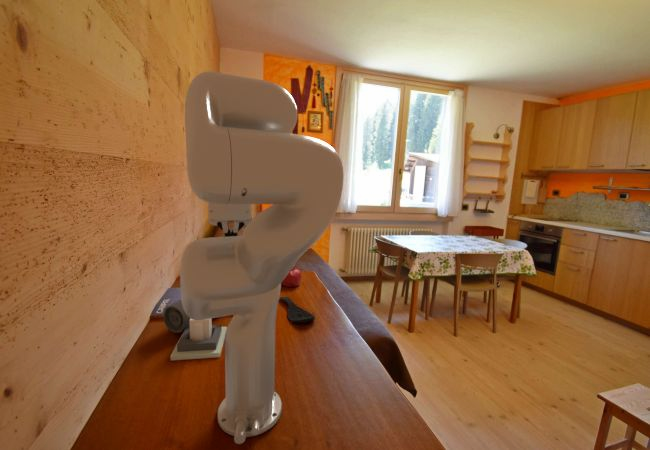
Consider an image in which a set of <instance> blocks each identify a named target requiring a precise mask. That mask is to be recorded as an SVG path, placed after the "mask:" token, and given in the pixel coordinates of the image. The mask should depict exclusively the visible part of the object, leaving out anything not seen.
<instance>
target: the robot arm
mask: <svg viewBox="0 0 650 450" xmlns="http://www.w3.org/2000/svg"><path fill="white" fill-rule="evenodd" d="M297 122H298V105H297V104H296V102H295V99H294V97H293V96H292V95H291V93H290V92H289V91H288V90H286V89H285V88H284V87H283V86H281V85H279V84H277V83H275V82H272V81H269V80H264V79H258V78H252V77H247V76H242V75H241V76H239V75H234V74H229V73H222V72H218V71H203V72H200V73H198V74H197V75H196V76H194V77H193V79H192V80H191V82H190V84H189V86H188V89H187V91H186V95H185V101H184V125H185V127H184V128H185V130H184V131H185V151H186V153H185V154H186V173H187V177H188V183H189V185H190V187H191V189H192V192H193V193H194V194H195V196H196V197H197V198H198V199H200V200H202V201H203V202H206V203H207V204H208V206H207V207H208V208H207V211H208V212H207V214H208V221H207V223H208V224H209V225H211V226H216V227H218V228H219V229H220V231H222V232H223V233H224V236H216V237H215V236H214V237H213V236H212V237H203V238H198V239H195V240H193V241H191V242H189V244H187V245H186V247H184V248H185V249H184V250H183V253H182V256H181V261H180V270H179V274H180V275H179V277H180V280H179V281H180V286H179V287H180V300H181V302H182V306H183V309H184V311H185V313H186V314H187V316H188V317H189V318H191V319H194V320H204V319H211V318H212V319H215V318H222V317H228V316H233V317H232V318H231V320H230V321H229V323H228V325H227V326H226V327H227V330H226V333H225V340H224V367H225V368H224V370H225V371H224V372H225V380H224V381H225V398H223V400H222V401H221V403H220V404H219V406H218V408H217V409H218V410H217V423H218V425H219V427H220V429H221V430H223V432H224V433H227V434H228V435H229V436H232V437H233V441H234V443H235V444H237V445H241V444H243V443H244V442H245V441H246V439H247V438H249V437H256V436H258V435H261V434H263V433H265V432H267V431H268V430H270V429H271V428H272V427H274V426H275V424H277V422H278V420H279V419H280V417H281V414H282V409H283V403H282V399H281V397H280V395H279V394H278V392H276V391H275V381H276V380H275V374H276V373H275V370H276V369H275V368H276V367H275V366H276V365H275V364H276V363H275V362H276V358H275V357H276V325H277V324H276V321H277V313H278V304H279V301H280V296H281V295H280V294H281V288H282V284H281V282H282V281H283V280H284V278H285V277H286V276H287V274H288V273H289V272H290V270H291V269H292V268H293V267H295V265H296V263H298V260H299V259H300V258H301V257H302V256H303V255H304V254H305V253H306V252H307V251H308V250H309V249H310V248H311V247H313V245H315V244H316V243H317V242H318V241H319V239H320V238H321V237H323V235H324V233H326V231H327V229H328V228H329V226H331V223H332V222H333V220H334V219H335V215H336V213H337V211H338V209H339V205H340V202H341V198H342V194H343V189H344V188H343V187H344V167H343V162H342V159H341V157H340V155H339V153H338V152H337V151H336V150H335V148H334V147H333V146H331V145H330V144H329V143H327V142H325V141H323V140H321V139H319V138H316V137H312V136H308V135H303V134H298V133H293V131H294V129H295V127H296V125H297ZM253 205H270V206H268V207H267V208H265V209H263V210H262V211H260V212H259V213H257V214H256V215H255V216H254V217H253V215H252V214H253ZM229 222H233V227H232V230H231V228H230V223H229ZM244 227H245V228H244ZM242 228H244V229H243V233H242V235H239V234H238V233H239V232H240V230H241V229H242Z"/></svg>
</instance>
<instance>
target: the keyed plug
mask: <svg viewBox="0 0 650 450" xmlns="http://www.w3.org/2000/svg"><path fill="white" fill-rule="evenodd" d="M212 321H213V318H211V319H204V320H194V319H191V318H190V320H189V322H190V339H192V341H201V340H205V339H206V338H211V337H212V325H213V323H212Z"/></svg>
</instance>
